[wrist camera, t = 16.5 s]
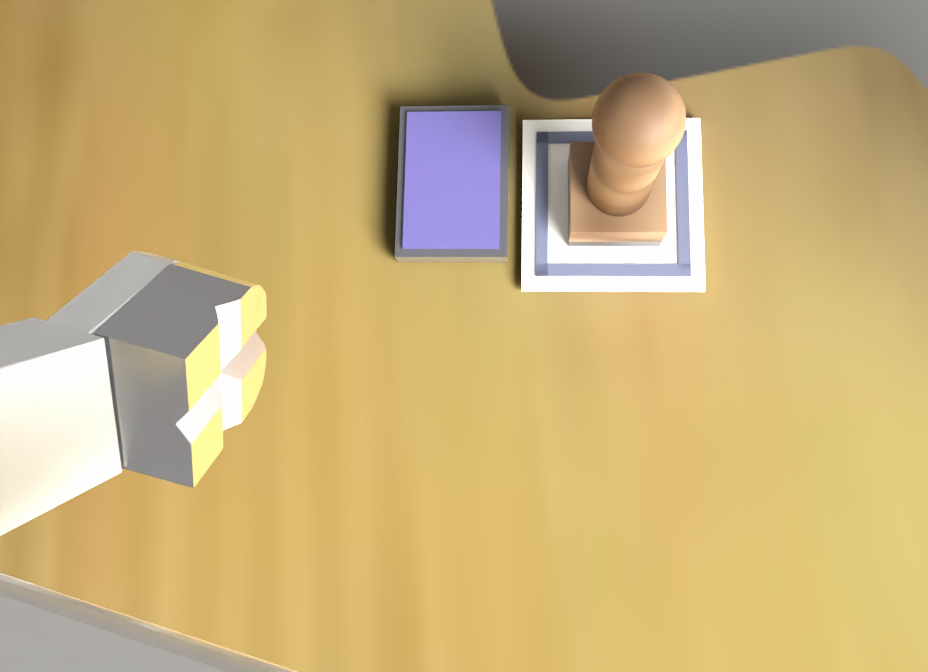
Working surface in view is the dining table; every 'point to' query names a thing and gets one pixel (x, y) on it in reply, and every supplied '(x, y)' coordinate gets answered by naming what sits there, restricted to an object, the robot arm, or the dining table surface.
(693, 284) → the print sheet
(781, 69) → the dining table surface
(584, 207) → the stamp
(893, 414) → the dining table surface
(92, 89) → the dining table surface
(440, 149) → the ink pad
